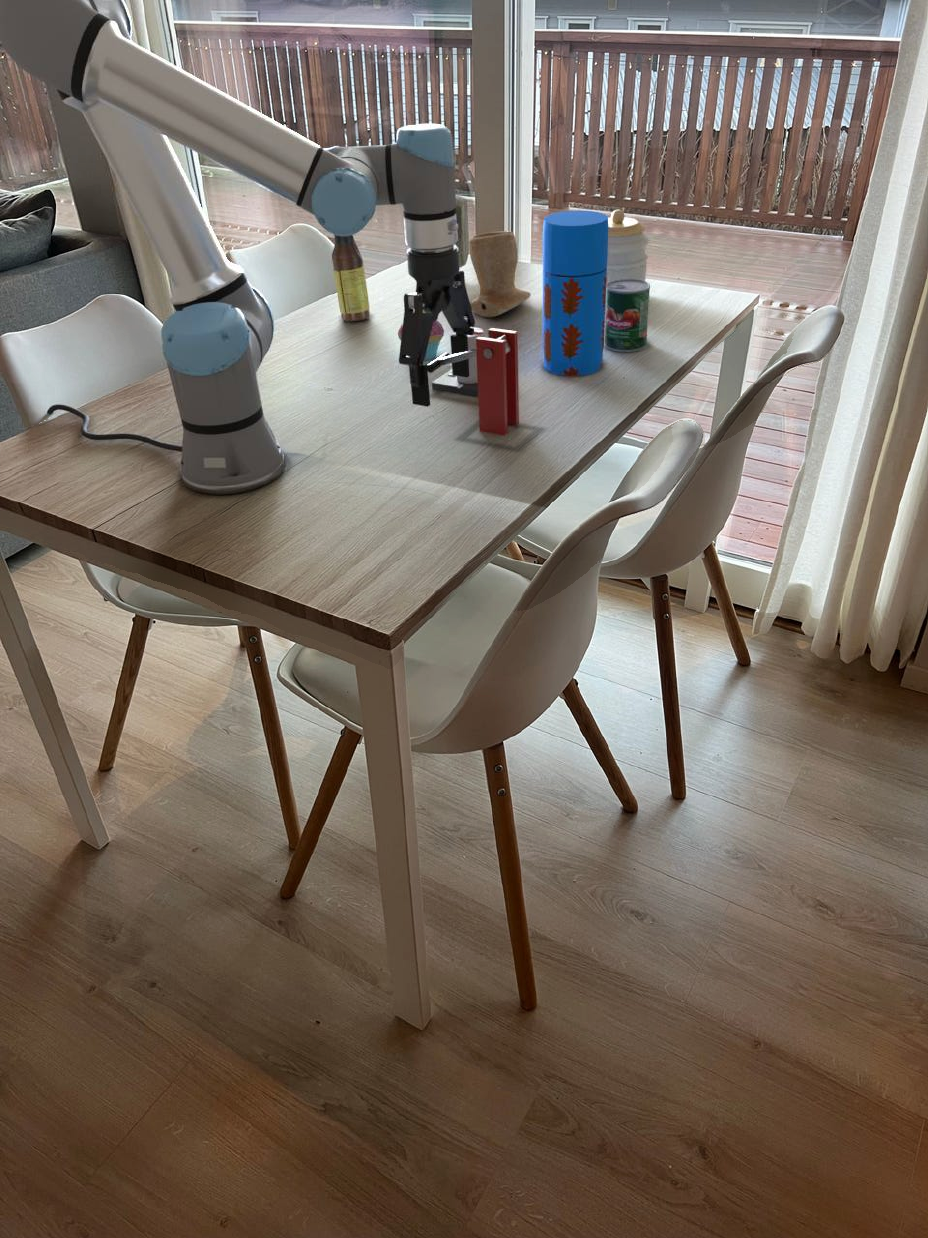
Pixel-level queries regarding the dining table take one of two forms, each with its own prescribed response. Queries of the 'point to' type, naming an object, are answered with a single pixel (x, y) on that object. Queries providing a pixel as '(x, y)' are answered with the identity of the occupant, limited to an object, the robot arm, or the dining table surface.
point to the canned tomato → (626, 315)
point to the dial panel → (454, 385)
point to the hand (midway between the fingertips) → (441, 389)
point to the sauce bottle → (350, 279)
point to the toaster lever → (459, 356)
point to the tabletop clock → (462, 230)
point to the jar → (626, 248)
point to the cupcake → (431, 339)
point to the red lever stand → (497, 381)
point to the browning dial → (472, 361)
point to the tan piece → (495, 273)
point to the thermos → (574, 291)
